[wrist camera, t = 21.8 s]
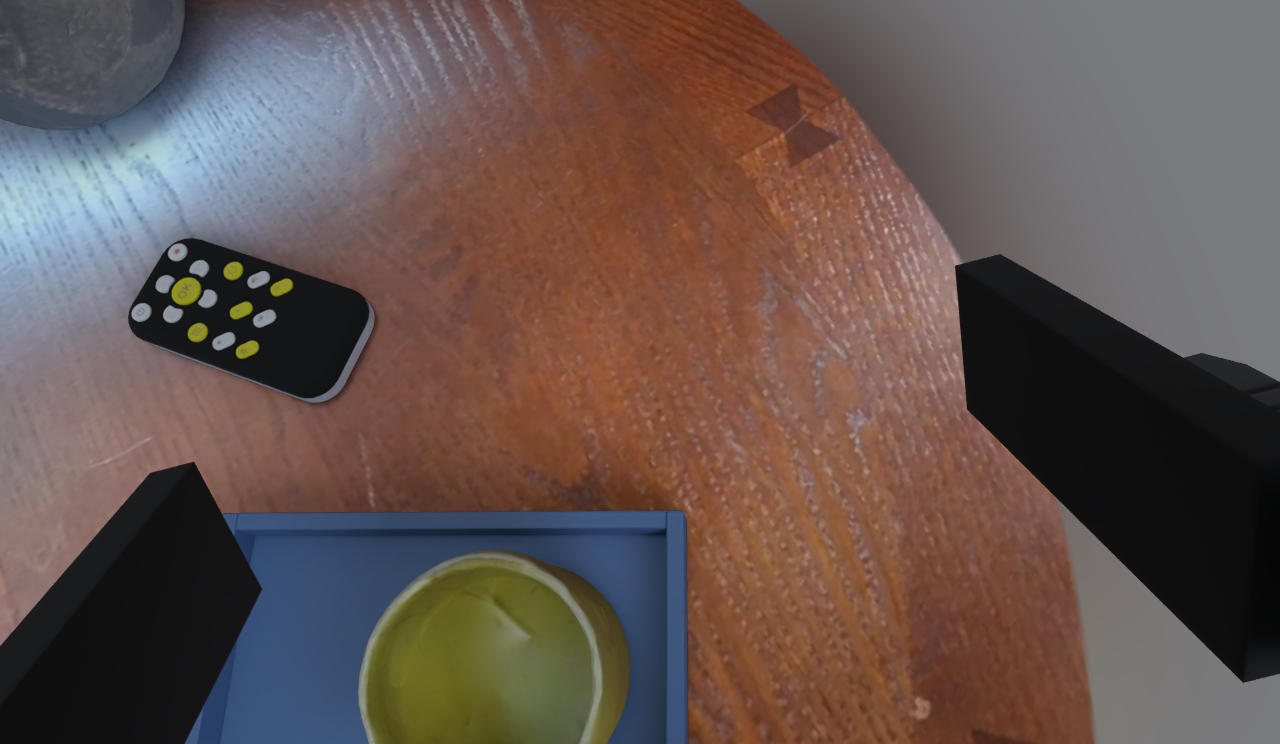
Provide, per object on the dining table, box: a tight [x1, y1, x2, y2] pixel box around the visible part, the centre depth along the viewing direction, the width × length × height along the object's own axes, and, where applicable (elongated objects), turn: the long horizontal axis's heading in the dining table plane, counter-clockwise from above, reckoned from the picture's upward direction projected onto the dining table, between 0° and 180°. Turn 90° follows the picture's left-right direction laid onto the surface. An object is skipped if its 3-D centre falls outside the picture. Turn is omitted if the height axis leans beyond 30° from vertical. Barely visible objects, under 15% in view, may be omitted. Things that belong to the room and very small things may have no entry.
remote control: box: [128, 238, 375, 403], centre depth 44 cm, size 6×13×2 cm, turn 69°
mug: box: [358, 550, 631, 744], centre depth 33 cm, size 12×10×10 cm
